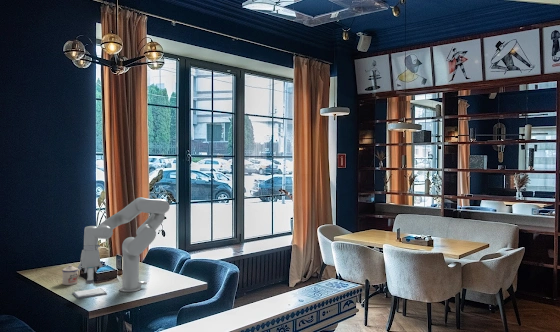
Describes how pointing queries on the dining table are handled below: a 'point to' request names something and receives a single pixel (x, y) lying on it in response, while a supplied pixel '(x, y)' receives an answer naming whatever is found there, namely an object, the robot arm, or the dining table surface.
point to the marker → (90, 275)
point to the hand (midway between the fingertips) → (89, 278)
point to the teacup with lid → (70, 275)
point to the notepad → (89, 293)
